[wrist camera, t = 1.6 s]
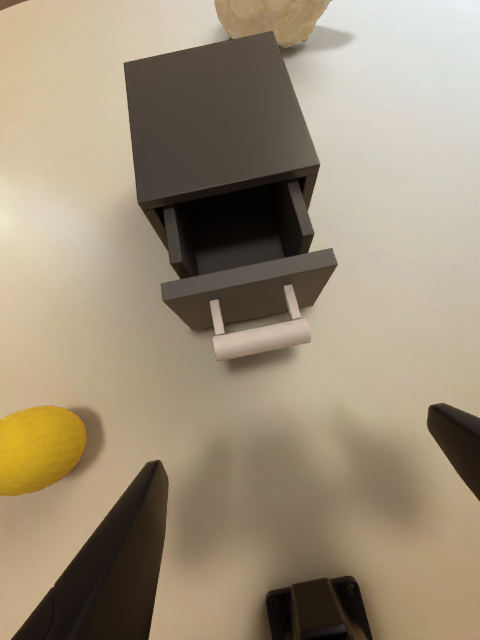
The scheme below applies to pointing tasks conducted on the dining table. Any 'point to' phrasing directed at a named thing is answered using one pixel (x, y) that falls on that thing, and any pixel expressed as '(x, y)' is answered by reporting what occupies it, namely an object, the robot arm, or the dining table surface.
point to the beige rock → (271, 18)
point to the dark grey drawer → (245, 265)
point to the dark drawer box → (215, 124)
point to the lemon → (38, 448)
